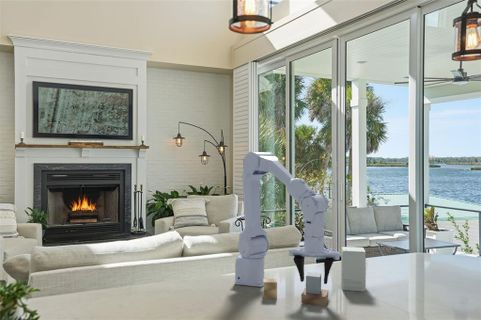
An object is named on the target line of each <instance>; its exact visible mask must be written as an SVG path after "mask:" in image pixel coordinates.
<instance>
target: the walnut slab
mask: <svg viewBox="0 0 481 320" xmlns="http://www.w3.org/2000/svg"><path fill="white" fill-rule="evenodd" d="M300 299H301V300H300V303H303V304H302V305H308V304H310V305H309V306H320V307H327V305H328V301H329V289H323V288H321V292H320V294H312V293H306V287H304V289H303V291H302V293H301V296H300Z"/></svg>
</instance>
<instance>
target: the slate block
mask: <svg viewBox="0 0 481 320" xmlns="http://www.w3.org/2000/svg"><path fill="white" fill-rule="evenodd" d="M305 288H306V293H312V294H320V292H321V289H322V273H321V272H311V271H308V272H307V273H306V275H305Z"/></svg>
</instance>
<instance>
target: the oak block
mask: <svg viewBox="0 0 481 320" xmlns="http://www.w3.org/2000/svg"><path fill="white" fill-rule="evenodd" d="M263 299H264V300H278V279H277V278H265V277H264V285H263Z"/></svg>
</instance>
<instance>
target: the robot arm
mask: <svg viewBox="0 0 481 320" xmlns="http://www.w3.org/2000/svg"><path fill="white" fill-rule="evenodd" d="M243 157H244V158H243V159H242V169H243V170H242V177H241V178H242V194H243V214H244V229H243V230H242V231H241V232H240V233H239V235H238V236H239V239H238V243H237V250H238V252H239V254H240V255H238V256H237V257H236V259H235V266H234V267H235V268H234V271H235V272H234V276H235V277H234V278H235V279H234V285H239V286H240V285H241V286H249V287H260V288H262V287H264V278H265V257H266V256H267V253H268V251H269V250H270V241H269V239H268V235H267V231H266V230H265V229H264V228H263V227H262V218H261V217H262V216H261V199H260V183H259V182H260V180H261V179H262V177H263V176H265V175H267V174H269V173H271V174H272V175H273V176H274V177H275V178H276V179H278V180H279V181H280V182H281V183H282V184H284V185H285V187H286V192H287V193H288V194H289V195H290V196H291V197H292V198H293V200H295V201H296V202H297V203H298V204H299V207H300V211H301V212H302V214H303V215H302V217H303V220H304V225H303V226H304V235H303V236H304V237H303V240H304V241H303V242H304V243H303V244H304V245H303V247H304V248H290V249H289V250H288V252H289V253H288V256H289V257H293V262H294V264H295V267H296V269H297V271H298V275H299V279H300V283H301V282H302V283H303V282H304V281H305V258H317V259H324V260H323V267H324V274H323V276H324V277H323V284H324V285H327V284H328V280H329V275H330V271H331V269H332V266H333V264H334V262H335V261H339V260H340V257H341V256H340V254H341V252H340V251H333V250H327V249H325V213H326V212H327V211H328V208H329V207H328V206H329V203H328V202H329V201H328V199H327V198H326V197H325V195H324V194H322V193H321V194H320V193H317V191H316V190H314V189H312V188H311V187H310V185H308V184H307V183H306V181H307V180H305V179H304V178H299V177H296V178H295V177H294V176H293V174H291V173H290V172H289V171H288V169H287V168H285V167H284V165H283V164H282V163H281V162H280V160H279V158H278V157H277V156H275V154H274V153H273V152H270V151H267V152H262V151H261V152H255V151H249V152H248V153H246V154H245V156H243Z"/></svg>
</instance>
